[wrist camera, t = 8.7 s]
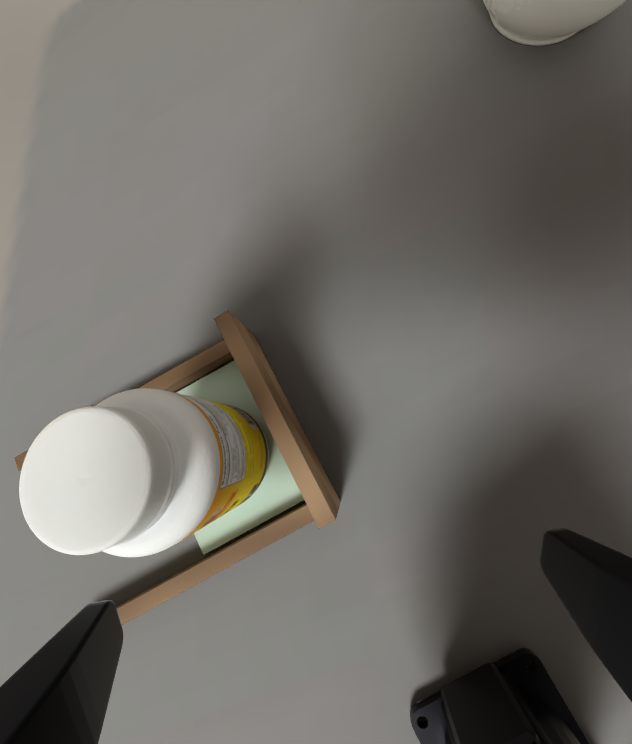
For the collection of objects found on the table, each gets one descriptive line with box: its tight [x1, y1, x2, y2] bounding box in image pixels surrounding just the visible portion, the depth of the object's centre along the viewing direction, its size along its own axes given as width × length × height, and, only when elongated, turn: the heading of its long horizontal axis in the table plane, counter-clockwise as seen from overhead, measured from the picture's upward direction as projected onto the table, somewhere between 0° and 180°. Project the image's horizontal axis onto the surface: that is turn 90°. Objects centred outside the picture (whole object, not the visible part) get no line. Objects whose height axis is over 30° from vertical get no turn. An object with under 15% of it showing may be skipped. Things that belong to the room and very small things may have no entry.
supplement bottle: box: [19, 388, 269, 557], centre depth 15 cm, size 6×6×10 cm
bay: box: [15, 310, 340, 625], centre depth 18 cm, size 11×15×4 cm
